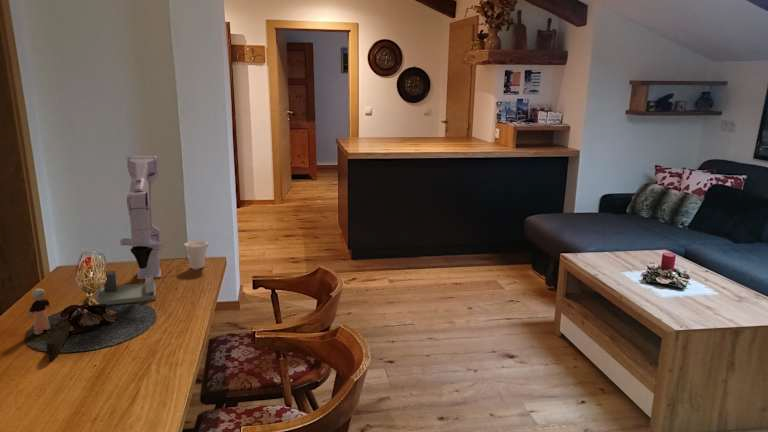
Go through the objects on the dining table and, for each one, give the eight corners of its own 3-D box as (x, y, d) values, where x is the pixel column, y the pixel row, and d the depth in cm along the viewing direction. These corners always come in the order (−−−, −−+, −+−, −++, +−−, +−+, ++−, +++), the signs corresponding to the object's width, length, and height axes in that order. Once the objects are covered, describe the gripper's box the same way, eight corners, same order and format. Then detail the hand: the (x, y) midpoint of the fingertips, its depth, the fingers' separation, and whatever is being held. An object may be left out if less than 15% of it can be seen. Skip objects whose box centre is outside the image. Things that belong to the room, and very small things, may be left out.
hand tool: (59, 332, 158) (57, 317, 157) (74, 331, 159) (72, 316, 158) (38, 364, 140) (36, 347, 139) (56, 362, 141) (53, 346, 140)
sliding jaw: (145, 283, 191) (145, 275, 190) (153, 282, 192) (153, 274, 191) (145, 293, 182) (145, 285, 181) (153, 293, 183) (153, 284, 182)
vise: (91, 292, 186) (90, 279, 185) (155, 286, 194) (154, 273, 193) (87, 306, 175) (86, 292, 174) (155, 299, 182) (155, 285, 181)
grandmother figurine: (41, 336, 154) (36, 293, 151) (27, 335, 154) (22, 293, 151) (57, 324, 162) (53, 283, 159) (44, 324, 162) (39, 283, 159)
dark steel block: (105, 288, 186) (104, 271, 185) (117, 287, 188) (115, 270, 186) (104, 292, 183) (103, 275, 181) (116, 291, 184) (115, 274, 183)
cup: (184, 264, 217) (183, 240, 215) (209, 263, 220) (208, 239, 218) (183, 272, 209) (182, 246, 207) (209, 270, 212) (208, 245, 209)
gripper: (112, 229, 179) (116, 269, 182) (152, 233, 176) (154, 273, 179) (127, 224, 186) (130, 262, 189) (165, 227, 182) (168, 267, 186)
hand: (143, 267), depth 184 cm, fingers closed
